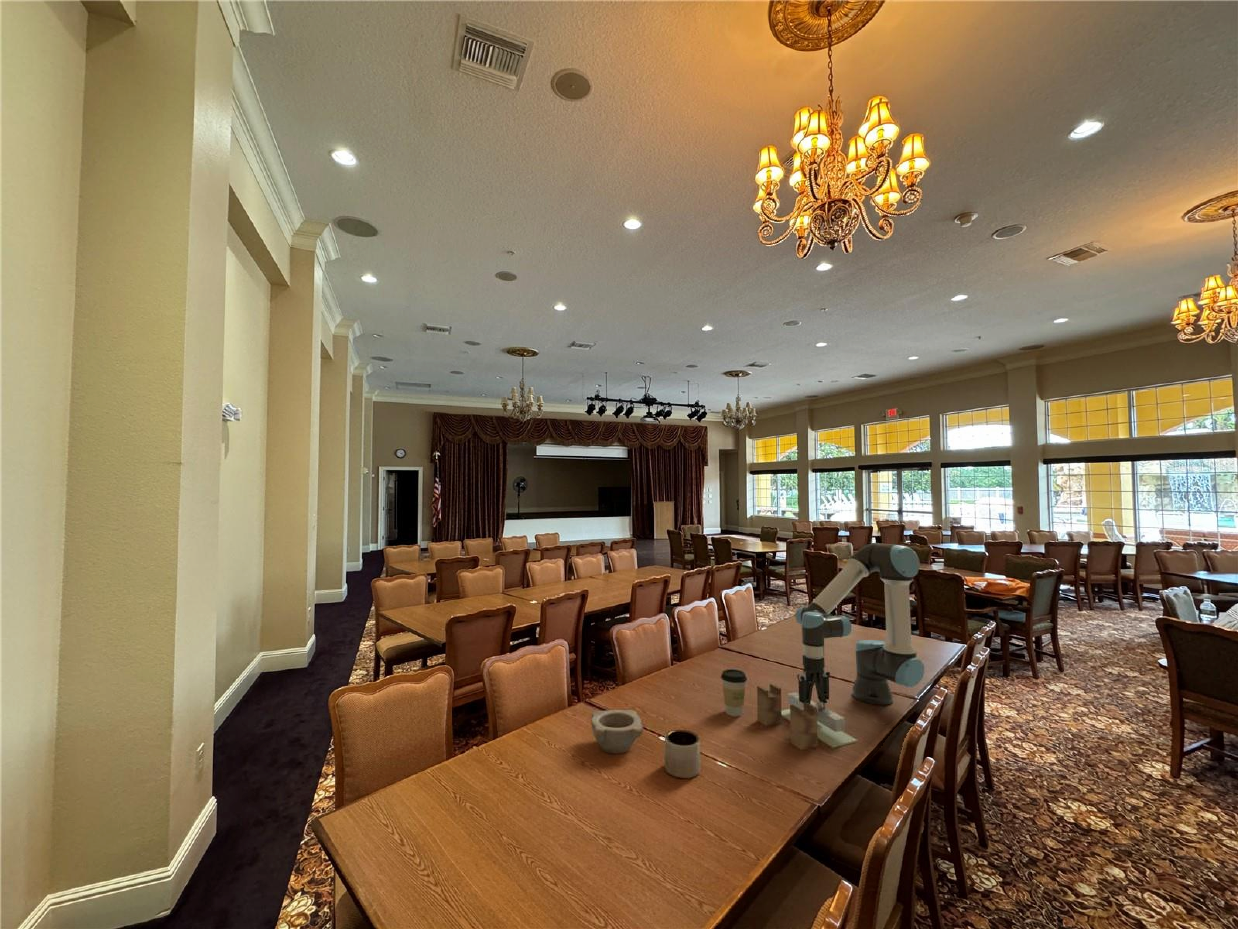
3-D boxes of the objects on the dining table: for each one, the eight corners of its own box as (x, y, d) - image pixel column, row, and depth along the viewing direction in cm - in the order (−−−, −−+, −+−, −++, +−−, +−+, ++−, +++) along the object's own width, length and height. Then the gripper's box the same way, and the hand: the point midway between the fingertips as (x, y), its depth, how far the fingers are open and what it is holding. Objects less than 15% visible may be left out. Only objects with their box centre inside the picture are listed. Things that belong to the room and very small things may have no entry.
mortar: (638, 734, 172) (638, 707, 172) (644, 759, 155) (644, 729, 156) (590, 735, 170) (590, 708, 171) (591, 761, 153) (591, 731, 154)
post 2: (806, 739, 168) (806, 702, 169) (817, 746, 164) (816, 708, 165) (790, 743, 166) (790, 705, 167) (801, 750, 161) (800, 711, 162)
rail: (787, 704, 189) (787, 693, 189) (796, 702, 190) (795, 692, 190) (835, 732, 166) (835, 720, 167) (844, 730, 168) (844, 718, 168)
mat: (799, 708, 193) (799, 707, 193) (857, 742, 167) (857, 740, 167) (777, 713, 189) (776, 711, 189) (832, 747, 163) (832, 745, 163)
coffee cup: (748, 719, 183) (747, 678, 184) (721, 717, 185) (721, 676, 186) (746, 708, 193) (746, 669, 194) (721, 706, 195) (720, 667, 196)
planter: (677, 783, 142) (677, 749, 143) (657, 765, 152) (657, 733, 152) (707, 774, 147) (707, 741, 148) (686, 757, 157) (686, 726, 157)
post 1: (772, 717, 185) (772, 683, 186) (781, 723, 181) (781, 688, 181) (757, 720, 183) (757, 686, 184) (766, 726, 178) (765, 691, 179)
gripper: (824, 650, 186) (825, 713, 185) (787, 655, 180) (788, 720, 178) (839, 656, 179) (841, 721, 178) (801, 661, 173) (802, 729, 171)
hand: (814, 721), depth 178 cm, fingers open, 4 cm apart
